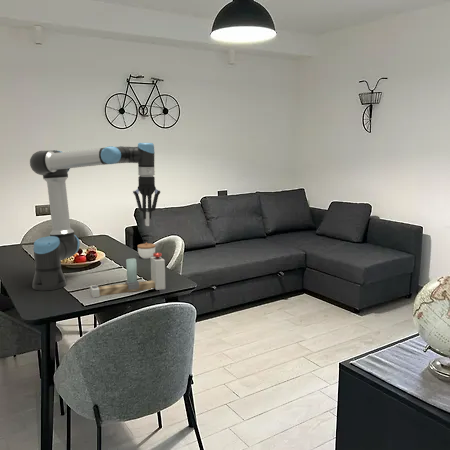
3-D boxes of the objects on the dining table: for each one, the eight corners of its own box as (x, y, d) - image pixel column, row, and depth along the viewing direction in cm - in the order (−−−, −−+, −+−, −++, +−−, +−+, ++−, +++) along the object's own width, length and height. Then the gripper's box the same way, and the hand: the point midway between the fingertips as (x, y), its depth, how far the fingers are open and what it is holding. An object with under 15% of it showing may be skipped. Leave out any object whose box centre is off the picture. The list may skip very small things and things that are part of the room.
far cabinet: (156, 290, 216) (155, 261, 213) (151, 284, 224) (150, 256, 221) (165, 288, 217) (164, 260, 215) (160, 283, 226) (159, 256, 223)
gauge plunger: (155, 277, 217) (154, 254, 215) (152, 275, 221) (152, 252, 219) (163, 276, 219) (162, 253, 217) (160, 274, 222) (160, 252, 221)
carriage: (128, 289, 212) (127, 261, 209) (125, 286, 217) (124, 258, 215) (139, 288, 214) (138, 260, 211) (135, 284, 219) (135, 257, 217)
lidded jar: (147, 254, 287) (147, 240, 286) (159, 257, 280) (158, 242, 279) (134, 257, 279) (133, 242, 277) (145, 260, 272) (145, 245, 271)
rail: (99, 295, 208) (99, 289, 207) (97, 293, 211) (97, 286, 211) (154, 288, 218) (154, 282, 217) (152, 286, 222) (152, 280, 221)
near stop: (92, 297, 205) (92, 288, 204) (90, 293, 211) (90, 284, 211) (99, 296, 206) (99, 287, 205) (97, 292, 212) (96, 283, 212)
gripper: (134, 176, 209) (135, 227, 213) (162, 176, 215) (162, 226, 219) (130, 175, 216) (131, 225, 220) (157, 175, 221) (158, 223, 225)
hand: (147, 225), depth 219 cm, fingers closed
